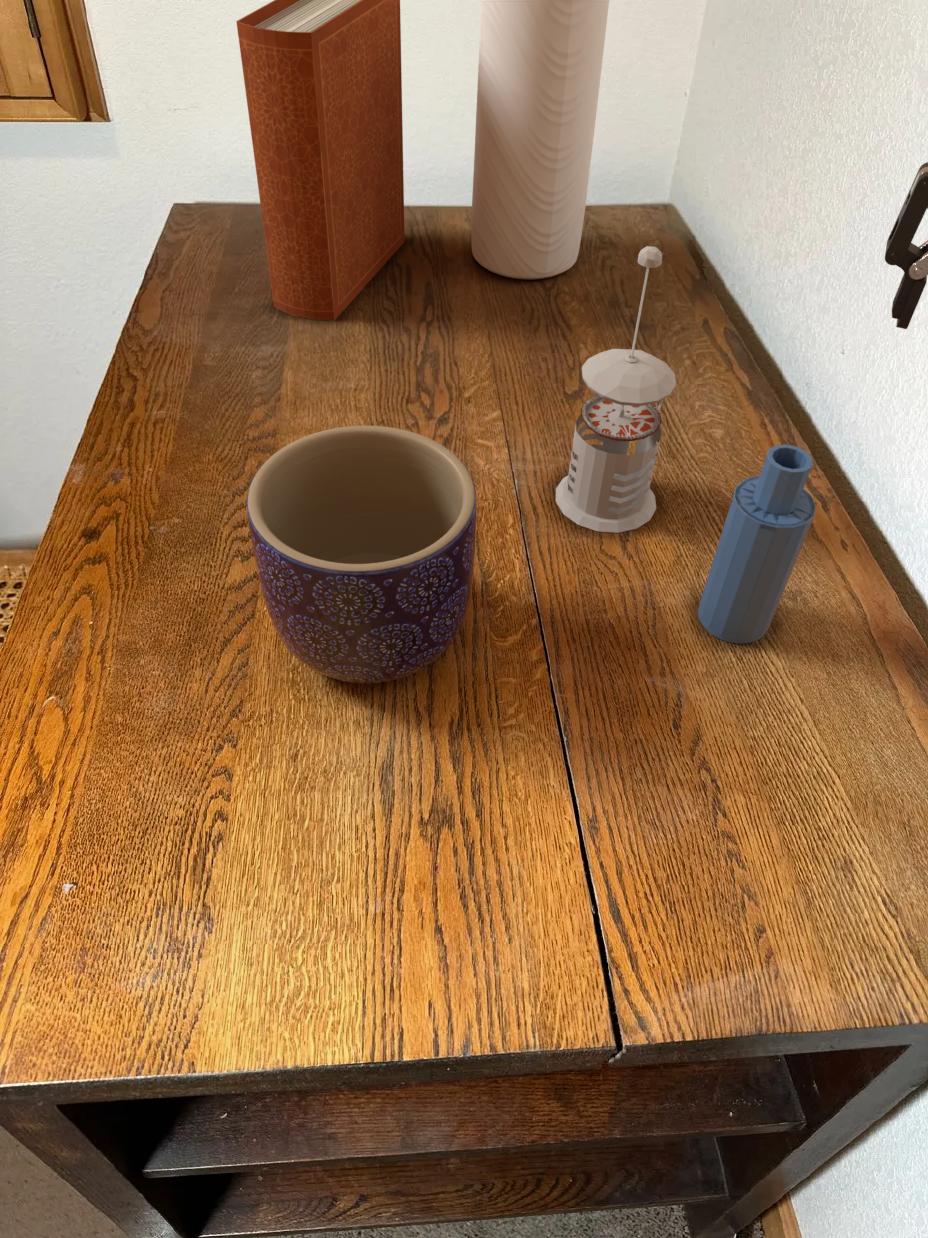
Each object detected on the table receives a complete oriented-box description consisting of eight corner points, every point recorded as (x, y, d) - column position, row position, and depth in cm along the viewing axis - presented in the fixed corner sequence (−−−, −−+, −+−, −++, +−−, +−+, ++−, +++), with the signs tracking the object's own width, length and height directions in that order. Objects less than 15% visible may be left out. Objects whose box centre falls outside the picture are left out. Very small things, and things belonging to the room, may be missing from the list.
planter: (433, 544, 85) (433, 406, 74) (500, 678, 74) (512, 540, 64) (252, 586, 81) (224, 446, 70) (296, 734, 70) (272, 596, 59)
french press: (535, 503, 89) (563, 250, 71) (598, 446, 96) (640, 200, 77) (623, 547, 85) (678, 292, 67) (683, 485, 92) (748, 236, 73)
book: (348, 230, 127) (332, -33, 105) (404, 241, 125) (399, -24, 103) (269, 310, 112) (230, 24, 90) (331, 323, 110) (307, 35, 88)
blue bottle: (773, 603, 81) (836, 444, 69) (763, 652, 77) (827, 493, 65) (705, 584, 82) (754, 425, 70) (691, 631, 79) (741, 471, 66)
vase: (582, 285, 118) (620, -5, 95) (469, 281, 118) (480, -11, 95) (574, 234, 128) (607, -41, 105) (470, 230, 128) (480, -46, 105)
